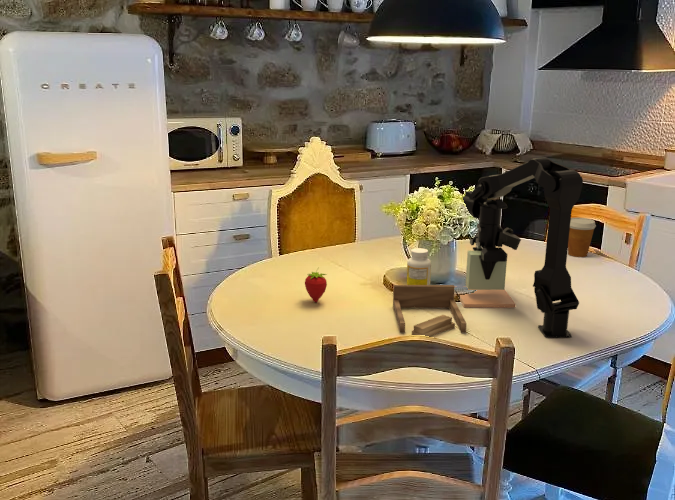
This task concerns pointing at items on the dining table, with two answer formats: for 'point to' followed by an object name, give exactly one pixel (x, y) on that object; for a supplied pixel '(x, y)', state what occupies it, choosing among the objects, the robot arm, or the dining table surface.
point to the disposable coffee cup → (580, 236)
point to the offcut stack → (434, 326)
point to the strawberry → (315, 285)
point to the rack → (425, 301)
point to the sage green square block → (476, 275)
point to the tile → (488, 299)
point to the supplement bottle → (418, 267)
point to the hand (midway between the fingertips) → (485, 276)
